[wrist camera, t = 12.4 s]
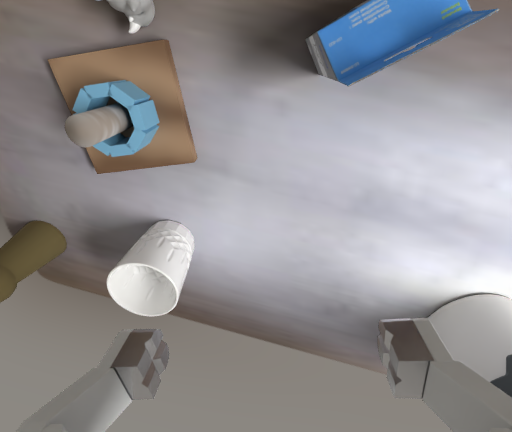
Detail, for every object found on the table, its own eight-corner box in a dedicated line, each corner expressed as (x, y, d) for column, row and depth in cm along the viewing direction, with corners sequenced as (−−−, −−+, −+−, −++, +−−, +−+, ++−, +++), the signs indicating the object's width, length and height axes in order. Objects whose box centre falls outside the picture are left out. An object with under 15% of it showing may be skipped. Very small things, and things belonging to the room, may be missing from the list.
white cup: (190, 212, 37) (165, 260, 28) (205, 259, 41) (186, 314, 32) (135, 219, 38) (94, 266, 29) (154, 264, 42) (122, 318, 33)
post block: (197, 158, 33) (172, 191, 25) (103, 169, 34) (50, 204, 26) (168, 40, 27) (123, 31, 19) (57, 59, 29) (-30, 59, 20)
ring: (146, 76, 28) (129, 78, 25) (165, 142, 31) (153, 151, 28) (85, 86, 28) (61, 89, 25) (110, 149, 32) (92, 159, 28)
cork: (70, 233, 40) (5, 288, 30) (62, 261, 42) (0, 320, 33) (26, 213, 38) (-56, 264, 29) (20, 243, 41) (-56, 299, 31)
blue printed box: (398, -18, 24) (497, -80, 14) (409, 29, 26) (504, 8, 15) (304, 38, 27) (324, 22, 16) (318, 78, 28) (346, 89, 18)
